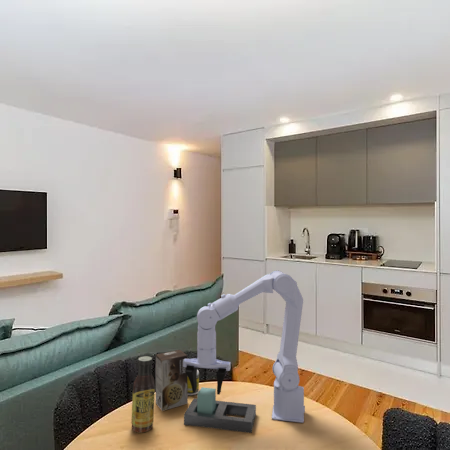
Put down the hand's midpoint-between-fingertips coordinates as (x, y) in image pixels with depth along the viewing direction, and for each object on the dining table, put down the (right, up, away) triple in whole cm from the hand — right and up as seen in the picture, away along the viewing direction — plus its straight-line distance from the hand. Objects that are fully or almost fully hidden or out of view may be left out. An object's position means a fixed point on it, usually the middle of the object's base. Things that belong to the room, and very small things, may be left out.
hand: (206, 391), depth 105 cm
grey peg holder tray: (+4, -8, -1) cm, 9 cm away
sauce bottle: (-18, -8, -6) cm, 21 cm away
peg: (0, -8, 0) cm, 8 cm away
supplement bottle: (-6, -8, +17) cm, 20 cm away
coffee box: (-12, -8, +9) cm, 17 cm away
